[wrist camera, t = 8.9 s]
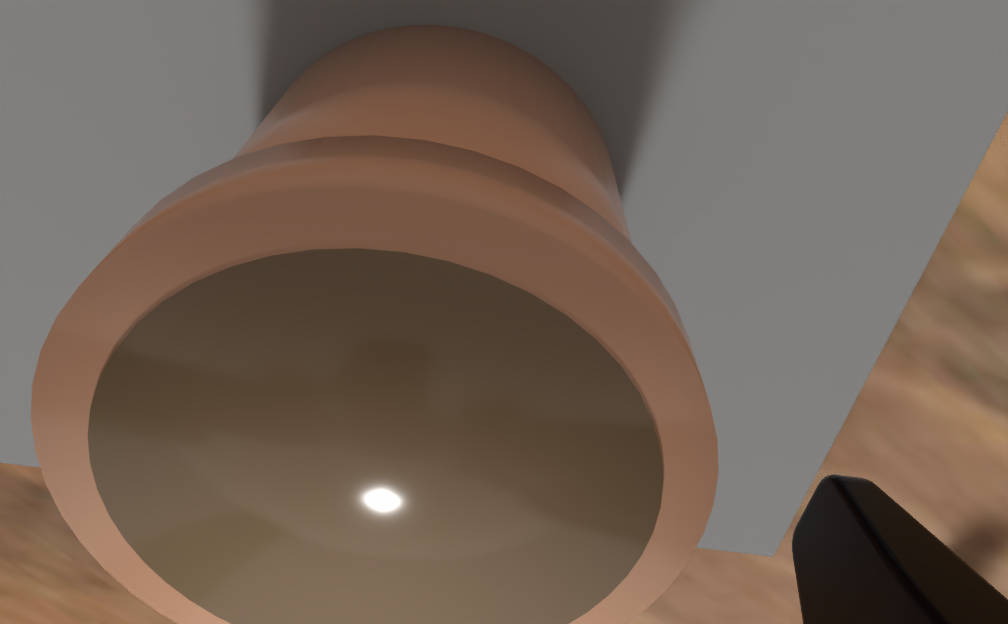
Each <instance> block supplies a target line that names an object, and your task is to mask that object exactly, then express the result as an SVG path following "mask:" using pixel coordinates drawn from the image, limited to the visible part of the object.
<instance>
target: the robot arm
mask: <svg viewBox="0 0 1008 624" xmlns="http://www.w3.org/2000/svg"><path fill="white" fill-rule="evenodd" d="M792 552H793V560H794V566H795V573H796V579H797V586H798V592H799V599H800V605H801V612H802V618H803V624H1008V599H1007V598H1005V597H1004V596H1003V595H1002V594H1001V593H1000V592H998V591H997V590H996V589H995V588H994V587H993V586H992V585H990V584H989V583H988V582H987V581H986V580H985V579H984V578H982V577H981V576H980V575H979V574H978V573H977V572H975V571H974V570H973V569H972V568H971V567H970V566H969V565H967V564H966V563H965V562H964V561H963V560H962V559H961V558H959V557H958V556H957V555H956V554H955V553H954V552H953V551H951V550H950V549H949V548H948V547H947V546H946V545H944V544H943V543H942V542H941V541H940V540H939V539H938V538H936V537H935V536H934V535H933V534H932V533H931V532H930V531H928V530H927V529H926V528H925V527H924V526H923V525H921V524H920V523H919V522H918V521H917V520H916V519H915V518H913V517H912V516H911V515H910V514H909V513H908V512H907V511H905V510H904V509H903V508H902V507H901V506H900V505H898V504H897V503H896V502H895V501H894V500H893V499H892V498H890V497H889V496H888V495H887V494H886V493H885V492H883V491H882V490H881V489H880V488H879V487H878V486H877V485H875V484H874V483H873V482H871V481H869V480H867V479H863V478H857V477H849V476H841V475H829V476H826V477H825V478H824V479H822V480H821V482H820V483H819V485H818V486H817V488H816V490H815V492H814V494H813V496H812V498H811V499H810V501H809V503H808V505H807V507H806V509H805V511H804V512H803V514H802V516H801V518H800V520H799V522H798V524H797V526H796V528H795V531H794V534H793V541H792Z"/></svg>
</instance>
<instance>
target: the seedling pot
mask: <svg viewBox="0 0 1008 624" xmlns="http://www.w3.org/2000/svg"><path fill="white" fill-rule="evenodd" d="M31 425H32V432H33V439H34V446H35V452H36V455H37V459H38V462H39V465H40V468H41V471H42V474H43V477H44V480H45V483H46V486H47V487H48V489H49V491H50V493H51V495H52V497H53V499H54V501H55V503H56V505H57V507H58V509H59V511H60V513H61V515H62V516H63V518H64V519H65V521H66V522H67V524H68V525H69V526H70V528H71V529H72V531H73V532H74V534H75V535H76V536H77V538H78V539H79V541H80V542H81V543H82V545H83V546H84V547H85V548H86V549H87V550H88V551H89V552H90V553H91V555H92V556H93V557H94V558H95V559H96V560H97V561H98V562H99V564H100V565H101V566H102V567H103V568H104V569H105V570H106V571H107V572H108V573H110V574H111V575H112V576H113V577H114V578H115V579H116V580H117V581H119V582H120V583H121V584H122V585H123V586H124V587H125V588H126V589H127V590H129V591H130V592H131V593H132V594H134V595H135V596H137V597H138V598H139V599H141V600H142V601H143V602H145V603H146V604H148V605H149V606H150V607H152V608H153V609H154V610H156V611H157V612H159V613H160V614H162V615H164V616H165V617H167V618H169V619H170V620H172V621H174V622H175V623H177V624H627V623H628V622H629V621H631V620H632V619H633V618H635V617H636V616H637V615H639V614H640V613H641V612H643V611H644V610H645V609H646V608H648V607H649V606H650V605H651V604H652V603H653V602H654V601H655V600H656V599H657V598H658V597H659V596H660V595H661V594H662V593H663V592H664V591H665V590H666V589H667V588H668V587H669V586H670V585H671V584H672V582H673V581H674V580H675V578H676V577H677V576H678V574H679V573H680V572H681V571H682V569H683V568H684V567H685V565H686V564H687V563H688V561H689V560H690V558H691V556H692V554H693V552H694V550H695V549H696V547H697V545H698V543H699V541H700V539H701V538H702V536H703V534H704V531H705V528H706V525H707V522H708V519H709V517H710V514H711V511H712V508H713V505H714V499H715V493H716V486H717V480H718V473H719V472H718V440H717V435H716V430H715V426H714V421H713V416H712V412H711V407H710V403H709V400H708V397H707V394H706V391H705V388H704V384H703V381H702V378H701V375H700V372H699V369H698V365H697V362H696V359H695V356H694V353H693V349H692V346H691V343H690V340H689V337H688V334H687V332H686V330H685V327H684V325H683V322H682V320H681V317H680V315H679V312H678V310H677V307H676V305H675V303H674V301H673V300H672V298H671V296H670V295H669V293H668V292H667V290H666V288H665V287H664V285H663V283H662V282H661V280H660V278H659V277H658V275H657V273H656V272H655V271H654V270H653V268H652V267H651V266H650V265H649V264H648V262H647V261H646V260H645V259H644V258H643V256H642V255H641V254H640V253H639V252H638V250H637V249H636V248H635V247H634V246H633V244H632V242H631V238H630V234H629V230H628V226H627V222H626V219H625V215H624V211H623V207H622V203H621V199H620V195H619V191H618V187H617V183H616V179H615V175H614V171H613V167H612V163H611V160H610V156H609V152H608V149H607V146H606V144H605V141H604V139H603V136H602V134H601V131H600V129H599V127H598V125H597V124H596V122H595V120H594V119H593V117H592V115H591V113H590V112H589V110H588V108H587V107H586V106H585V104H584V103H583V102H582V101H581V99H580V98H579V97H578V95H577V94H576V93H575V92H574V90H573V89H572V88H571V87H570V86H569V85H568V84H567V83H566V82H565V81H564V80H563V79H562V78H561V77H560V76H559V75H558V74H557V73H555V72H554V71H553V70H552V69H551V68H549V67H548V66H546V65H545V64H544V63H542V62H541V61H540V60H538V59H537V58H536V57H534V56H533V55H531V54H529V53H527V52H525V51H524V50H522V49H520V48H518V47H516V46H514V45H513V44H511V43H509V42H506V41H503V40H501V39H498V38H496V37H493V36H490V35H488V34H485V33H481V32H477V31H472V30H468V29H464V28H460V27H451V26H441V25H410V26H401V27H395V28H390V29H384V30H379V31H376V32H373V33H370V34H367V35H364V36H361V37H358V38H355V39H353V40H351V41H349V42H347V43H345V44H343V45H341V46H339V47H337V48H335V49H333V50H331V51H330V52H328V53H327V54H326V55H324V56H323V57H321V58H320V59H318V60H317V61H315V62H314V63H313V64H312V65H311V66H309V67H308V68H307V69H306V70H305V71H304V72H303V73H302V74H301V75H300V76H299V77H298V78H297V79H296V80H295V81H294V82H293V83H292V85H291V86H290V87H289V88H288V90H287V91H286V92H285V94H284V95H283V96H282V97H281V99H280V100H279V101H278V102H277V104H276V105H275V106H274V107H273V109H272V110H271V111H270V113H269V114H268V115H267V116H266V118H265V119H264V120H263V121H262V123H261V124H260V125H259V126H258V128H257V129H256V130H255V131H254V133H253V134H252V135H251V137H250V138H249V139H248V140H247V142H246V143H245V144H244V145H243V147H242V148H241V149H240V150H239V152H238V153H237V154H236V155H235V157H234V158H233V159H231V160H229V161H227V162H225V163H223V164H221V165H219V166H216V167H214V168H212V169H210V170H208V171H206V172H204V173H202V174H199V175H197V176H195V177H194V178H192V179H191V180H189V181H188V182H186V183H185V184H183V185H182V186H180V187H179V188H177V189H176V190H174V191H173V192H172V193H170V194H169V195H167V196H166V197H164V198H163V199H161V200H160V201H159V202H158V203H157V204H156V205H155V206H154V207H153V208H152V209H151V210H149V211H148V212H147V213H146V214H145V215H144V216H143V217H142V218H141V219H140V220H139V221H138V222H137V223H136V224H135V225H134V226H133V227H132V228H131V229H130V230H129V231H128V232H127V233H126V234H125V236H124V237H123V238H122V239H121V240H120V241H119V242H118V243H117V244H116V246H115V247H114V248H113V249H112V250H111V251H110V252H109V253H108V254H107V256H106V257H105V258H104V259H103V260H102V261H101V262H100V263H99V264H98V266H97V267H96V268H95V269H94V270H93V271H92V272H91V273H90V274H89V276H88V277H87V278H86V279H85V280H84V281H83V282H82V283H81V284H80V286H79V287H78V288H77V290H76V291H75V292H74V294H73V295H72V296H71V298H70V299H69V300H68V302H67V303H66V305H65V306H64V307H63V309H62V310H61V311H60V313H59V314H58V316H57V317H56V319H55V321H54V323H53V325H52V327H51V329H50V331H49V334H48V336H47V338H46V340H45V342H44V344H43V346H42V349H41V351H40V355H39V359H38V363H37V367H36V371H35V375H34V379H33V383H32V400H31Z"/></svg>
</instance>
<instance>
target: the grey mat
mask: <svg viewBox="0 0 1008 624" xmlns="http://www.w3.org/2000/svg"><path fill="white" fill-rule="evenodd" d="M410 25H441V26H451V27H460V28H464V29H468V30H472V31H477V32H481V33H485V34H488V35H490V36H493V37H496V38H498V39H501V40H503V41H506V42H509V43H511V44H513V45H514V46H516V47H518V48H520V49H522V50H524V51H525V52H527V53H529V54H531V55H533V56H534V57H536V58H537V59H538V60H540V61H541V62H542V63H544V64H545V65H546V66H548V67H549V68H551V69H552V70H553V71H554V72H555V73H557V74H558V75H559V76H560V77H561V78H562V79H563V80H564V81H565V82H566V83H567V84H568V85H569V86H570V87H571V88H572V89H573V90H574V92H575V93H576V94H577V95H578V97H579V98H580V99H581V101H582V102H583V103H584V104H585V106H586V107H587V108H588V110H589V112H590V113H591V115H592V117H593V119H594V120H595V122H596V124H597V125H598V127H599V129H600V131H601V134H602V136H603V139H604V141H605V144H606V146H607V149H608V152H609V156H610V160H611V163H612V167H613V171H614V175H615V179H616V183H617V187H618V191H619V195H620V199H621V203H622V207H623V211H624V215H625V219H626V222H627V226H628V230H629V234H630V238H631V242H632V244H633V246H634V247H635V248H636V249H637V250H638V252H639V253H640V254H641V255H642V256H643V258H644V259H645V260H646V261H647V262H648V264H649V265H650V266H651V267H652V268H653V270H654V271H655V272H656V273H657V275H658V277H659V278H660V280H661V282H662V283H663V285H664V287H665V288H666V290H667V292H668V293H669V295H670V296H671V298H672V300H673V301H674V303H675V305H676V307H677V310H678V312H679V315H680V317H681V320H682V322H683V325H684V327H685V330H686V332H687V334H688V337H689V340H690V343H691V346H692V349H693V353H694V356H695V359H696V362H697V365H698V369H699V372H700V375H701V378H702V381H703V384H704V388H705V391H706V394H707V397H708V400H709V403H710V407H711V412H712V416H713V421H714V426H715V430H716V435H717V440H718V472H719V473H718V480H717V486H716V493H715V499H714V505H713V508H712V511H711V514H710V517H709V519H708V522H707V525H706V528H705V531H704V534H703V536H702V538H701V539H700V541H699V543H698V545H697V548H705V549H714V550H722V551H730V552H738V553H746V554H755V555H763V556H771V557H773V556H774V554H775V552H776V550H777V548H778V547H779V545H780V543H781V541H782V539H783V537H784V535H785V533H786V531H787V529H788V528H789V526H790V524H791V522H792V520H793V518H794V516H795V514H796V512H797V510H798V509H799V507H800V505H801V503H802V501H803V499H804V497H805V495H806V493H807V491H808V490H809V488H810V486H811V484H812V482H813V480H814V478H815V476H816V474H817V472H818V471H819V469H820V467H821V465H822V463H823V461H824V459H825V457H826V455H827V453H828V452H829V450H830V448H831V446H832V444H833V442H834V440H835V438H836V436H837V434H838V433H839V431H840V429H841V427H842V425H843V423H844V421H845V419H846V417H847V415H848V414H849V412H850V410H851V408H852V406H853V404H854V402H855V400H856V398H857V396H858V395H859V393H860V391H861V389H862V387H863V385H864V383H865V381H866V379H867V377H868V376H869V374H870V372H871V370H872V368H873V366H874V364H875V362H876V360H877V358H878V357H879V355H880V353H881V351H882V349H883V347H884V345H885V343H886V341H887V340H888V338H889V336H890V334H891V332H892V330H893V328H894V326H895V324H896V322H897V321H898V319H899V317H900V315H901V313H902V311H903V309H904V307H905V305H906V303H907V302H908V300H909V298H910V296H911V294H912V292H913V290H914V288H915V286H916V284H917V283H918V281H919V279H920V277H921V275H922V273H923V271H924V269H925V267H926V265H927V264H928V262H929V260H930V258H931V256H932V254H933V252H934V250H935V248H936V246H937V245H938V243H939V241H940V239H941V237H942V235H943V233H944V231H945V229H946V227H947V226H948V224H949V222H950V220H951V218H952V216H953V214H954V212H955V210H956V208H957V207H958V205H959V203H960V201H961V199H962V197H963V195H964V193H965V191H966V189H967V188H968V186H969V184H970V182H971V180H972V178H973V176H974V174H975V172H976V170H977V169H978V167H979V165H980V163H981V161H982V159H983V157H984V155H985V153H986V151H987V150H988V148H989V146H990V144H991V142H992V140H993V138H994V136H995V134H996V132H997V131H998V129H999V127H1000V125H1001V123H1002V121H1003V119H1004V117H1005V115H1006V113H1007V112H1008V0H0V463H8V464H16V465H24V466H33V467H40V465H39V462H38V459H37V455H36V452H35V446H34V439H33V432H32V425H31V400H32V383H33V379H34V375H35V371H36V367H37V363H38V359H39V355H40V351H41V349H42V346H43V344H44V342H45V340H46V338H47V336H48V334H49V331H50V329H51V327H52V325H53V323H54V321H55V319H56V317H57V316H58V314H59V313H60V311H61V310H62V309H63V307H64V306H65V305H66V303H67V302H68V300H69V299H70V298H71V296H72V295H73V294H74V292H75V291H76V290H77V288H78V287H79V286H80V284H81V283H82V282H83V281H84V280H85V279H86V278H87V277H88V276H89V274H90V273H91V272H92V271H93V270H94V269H95V268H96V267H97V266H98V264H99V263H100V262H101V261H102V260H103V259H104V258H105V257H106V256H107V254H108V253H109V252H110V251H111V250H112V249H113V248H114V247H115V246H116V244H117V243H118V242H119V241H120V240H121V239H122V238H123V237H124V236H125V234H126V233H127V232H128V231H129V230H130V229H131V228H132V227H133V226H134V225H135V224H136V223H137V222H138V221H139V220H140V219H141V218H142V217H143V216H144V215H145V214H146V213H147V212H148V211H149V210H151V209H152V208H153V207H154V206H155V205H156V204H157V203H158V202H159V201H160V200H161V199H163V198H164V197H166V196H167V195H169V194H170V193H172V192H173V191H174V190H176V189H177V188H179V187H180V186H182V185H183V184H185V183H186V182H188V181H189V180H191V179H192V178H194V177H195V176H197V175H199V174H202V173H204V172H206V171H208V170H210V169H212V168H214V167H216V166H219V165H221V164H223V163H225V162H227V161H229V160H231V159H233V158H234V157H235V155H236V154H237V153H238V152H239V150H240V149H241V148H242V147H243V145H244V144H245V143H246V142H247V140H248V139H249V138H250V137H251V135H252V134H253V133H254V131H255V130H256V129H257V128H258V126H259V125H260V124H261V123H262V121H263V120H264V119H265V118H266V116H267V115H268V114H269V113H270V111H271V110H272V109H273V107H274V106H275V105H276V104H277V102H278V101H279V100H280V99H281V97H282V96H283V95H284V94H285V92H286V91H287V90H288V88H289V87H290V86H291V85H292V83H293V82H294V81H295V80H296V79H297V78H298V77H299V76H300V75H301V74H302V73H303V72H304V71H305V70H306V69H307V68H308V67H309V66H311V65H312V64H313V63H314V62H315V61H317V60H318V59H320V58H321V57H323V56H324V55H326V54H327V53H328V52H330V51H331V50H333V49H335V48H337V47H339V46H341V45H343V44H345V43H347V42H349V41H351V40H353V39H355V38H358V37H361V36H364V35H367V34H370V33H373V32H376V31H379V30H384V29H390V28H395V27H401V26H410Z"/></svg>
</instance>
